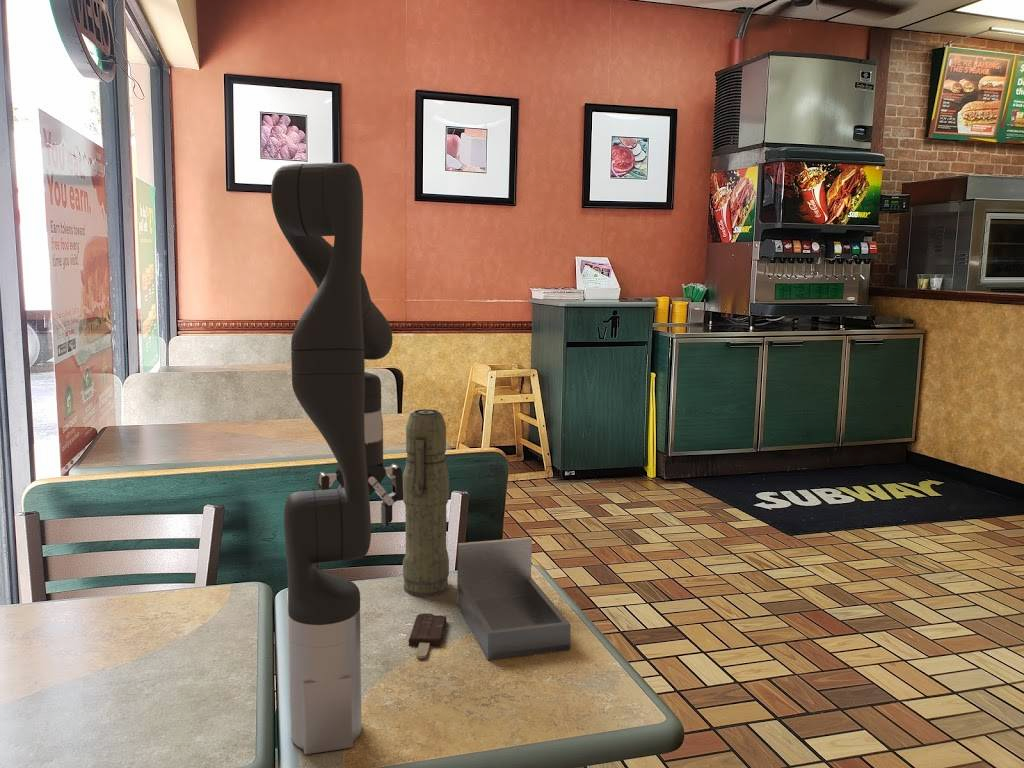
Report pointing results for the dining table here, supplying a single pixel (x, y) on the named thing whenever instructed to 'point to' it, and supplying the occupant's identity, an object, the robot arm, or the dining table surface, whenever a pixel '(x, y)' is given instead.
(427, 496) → the thermos
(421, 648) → the ice cream bar
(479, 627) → the silver tray
